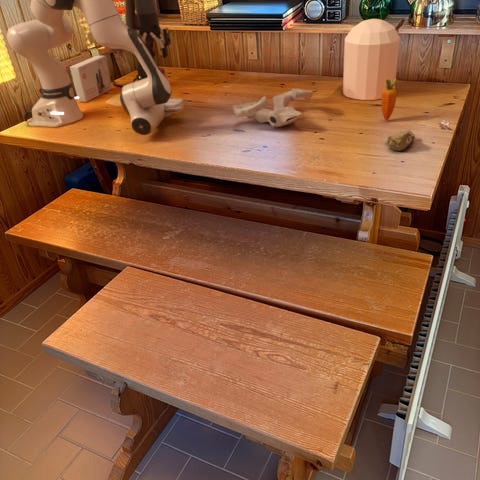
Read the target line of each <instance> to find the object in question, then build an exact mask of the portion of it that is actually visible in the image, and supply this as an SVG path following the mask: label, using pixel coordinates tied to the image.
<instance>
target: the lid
mask: <svg viewBox="0 0 480 480" xmlns="http://www.w3.org/2000/svg"><path fill="white" fill-rule="evenodd" d="M159 69H160V70H161V72H162V73H163V74H164V75H165V73H166V71H165V68H164V67H159Z"/></svg>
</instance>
